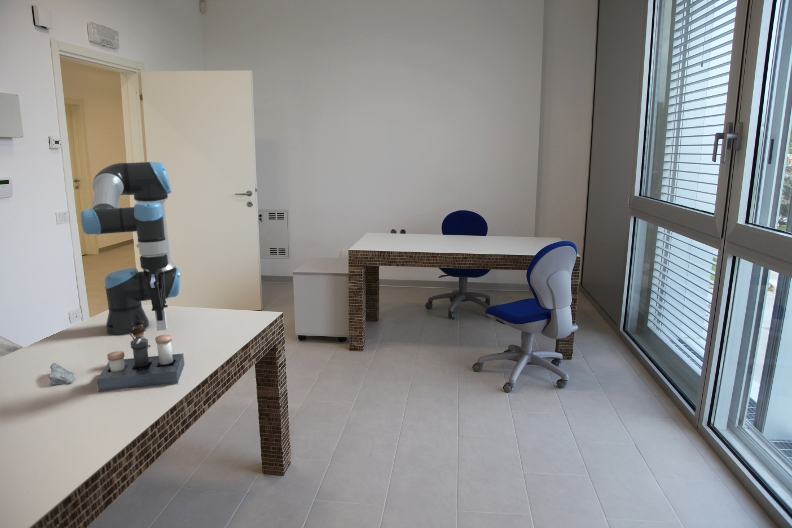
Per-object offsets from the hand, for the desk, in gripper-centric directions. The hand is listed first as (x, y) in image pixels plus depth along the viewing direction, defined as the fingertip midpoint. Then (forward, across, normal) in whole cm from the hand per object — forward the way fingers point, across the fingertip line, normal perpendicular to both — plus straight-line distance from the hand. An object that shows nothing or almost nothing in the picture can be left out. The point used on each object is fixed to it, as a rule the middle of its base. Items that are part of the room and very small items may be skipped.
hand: (162, 329), depth 162 cm
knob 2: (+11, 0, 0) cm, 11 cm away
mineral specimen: (+16, -6, -32) cm, 36 cm away
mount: (+15, 0, -7) cm, 17 cm away
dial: (+11, 0, -7) cm, 13 cm away
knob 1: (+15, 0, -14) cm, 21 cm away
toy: (+15, -14, -10) cm, 23 cm away
